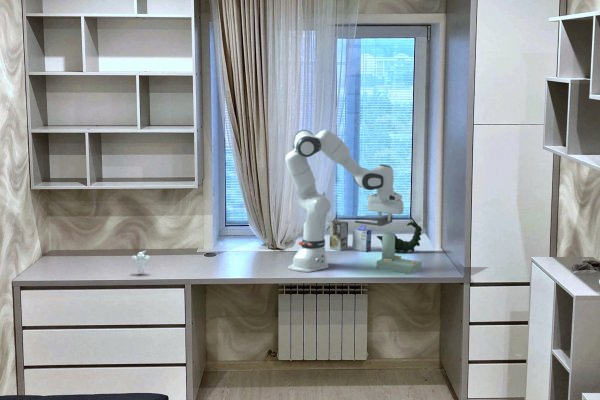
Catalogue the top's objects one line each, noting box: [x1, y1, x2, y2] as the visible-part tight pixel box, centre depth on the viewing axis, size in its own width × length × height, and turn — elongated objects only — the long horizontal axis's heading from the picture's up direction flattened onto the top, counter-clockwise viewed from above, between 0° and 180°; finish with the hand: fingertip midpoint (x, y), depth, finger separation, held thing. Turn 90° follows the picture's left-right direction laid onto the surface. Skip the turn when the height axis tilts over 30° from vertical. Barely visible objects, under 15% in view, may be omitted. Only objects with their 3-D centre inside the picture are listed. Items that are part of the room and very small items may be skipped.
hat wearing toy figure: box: [131, 249, 150, 275], centre depth 390 cm, size 9×4×12 cm, turn 92°
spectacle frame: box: [354, 214, 393, 227], centre depth 412 cm, size 12×16×4 cm
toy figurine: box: [376, 221, 423, 254], centre depth 439 cm, size 9×19×25 cm
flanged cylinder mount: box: [376, 231, 423, 275], centre depth 402 cm, size 12×20×18 cm, turn 54°
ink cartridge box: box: [351, 224, 372, 252], centre depth 444 cm, size 10×6×14 cm, turn 53°
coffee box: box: [329, 219, 349, 252], centre depth 446 cm, size 9×6×16 cm
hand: (384, 220), depth 408 cm, fingers closed on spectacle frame, 2 cm apart
